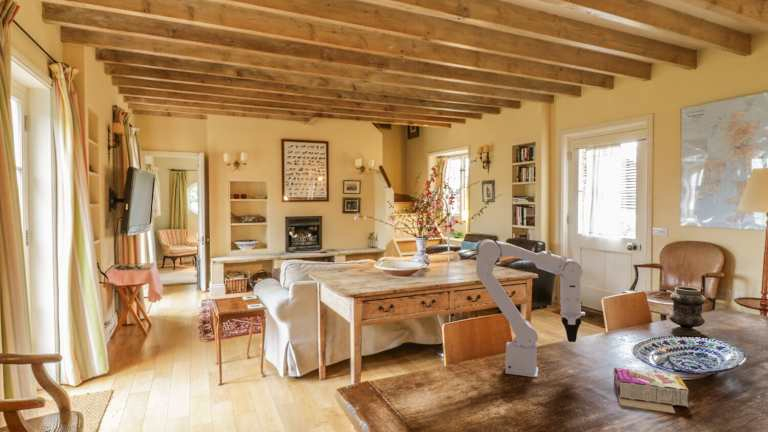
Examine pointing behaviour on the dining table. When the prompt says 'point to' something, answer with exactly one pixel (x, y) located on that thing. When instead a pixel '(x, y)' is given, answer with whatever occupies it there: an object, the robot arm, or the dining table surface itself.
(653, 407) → the placemat
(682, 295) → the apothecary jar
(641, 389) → the candy bar box
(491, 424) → the dining table surface
